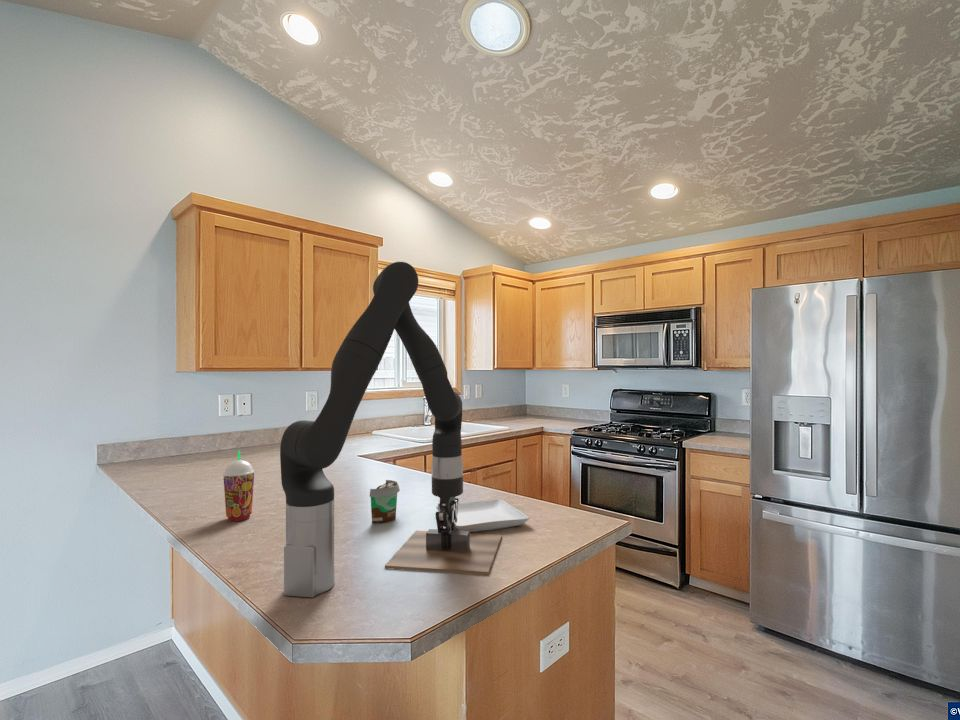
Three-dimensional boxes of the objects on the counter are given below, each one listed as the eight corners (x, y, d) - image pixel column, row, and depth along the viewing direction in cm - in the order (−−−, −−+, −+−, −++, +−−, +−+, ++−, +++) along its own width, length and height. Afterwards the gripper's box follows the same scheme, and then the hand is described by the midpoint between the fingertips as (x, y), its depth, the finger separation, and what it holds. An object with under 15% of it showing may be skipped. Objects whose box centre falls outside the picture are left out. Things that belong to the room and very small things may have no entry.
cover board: (488, 575, 101) (488, 553, 102) (384, 569, 105) (384, 547, 105) (501, 537, 124) (501, 519, 124) (416, 533, 128) (416, 515, 128)
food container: (390, 526, 133) (390, 490, 134) (369, 525, 135) (369, 489, 135) (405, 513, 145) (405, 480, 146) (386, 512, 147) (386, 479, 147)
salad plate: (499, 508, 151) (499, 497, 151) (530, 529, 131) (530, 516, 131) (434, 516, 143) (434, 504, 144) (457, 539, 124) (457, 526, 124)
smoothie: (216, 520, 140) (216, 451, 140) (242, 512, 147) (242, 447, 148) (235, 524, 136) (235, 454, 136) (260, 516, 143) (260, 449, 144)
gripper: (456, 481, 107) (457, 559, 107) (468, 468, 121) (469, 536, 121) (423, 480, 109) (424, 557, 108) (439, 467, 123) (440, 535, 122)
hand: (448, 546), depth 115 cm, fingers closed on cover board, 3 cm apart
